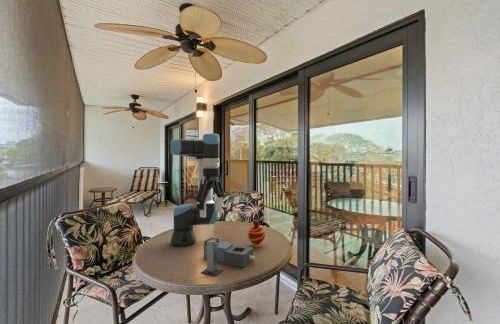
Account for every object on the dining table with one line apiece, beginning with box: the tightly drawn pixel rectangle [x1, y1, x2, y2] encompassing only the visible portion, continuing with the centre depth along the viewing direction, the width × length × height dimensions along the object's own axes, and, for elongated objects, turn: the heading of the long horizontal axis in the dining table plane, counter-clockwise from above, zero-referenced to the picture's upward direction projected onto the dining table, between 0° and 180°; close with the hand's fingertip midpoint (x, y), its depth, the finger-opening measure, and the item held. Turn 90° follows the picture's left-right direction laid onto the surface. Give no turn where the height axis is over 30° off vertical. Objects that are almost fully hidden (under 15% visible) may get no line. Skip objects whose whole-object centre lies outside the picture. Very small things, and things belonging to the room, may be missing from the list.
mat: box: [200, 267, 224, 277], centre depth 117 cm, size 8×6×1 cm
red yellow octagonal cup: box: [247, 219, 266, 248], centre depth 152 cm, size 10×10×15 cm
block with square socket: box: [203, 236, 256, 268], centre depth 131 cm, size 27×11×9 cm, turn 66°
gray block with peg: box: [206, 240, 218, 273], centre depth 116 cm, size 3×6×14 cm, turn 66°
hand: (211, 214), depth 117 cm, fingers open, 13 cm apart
